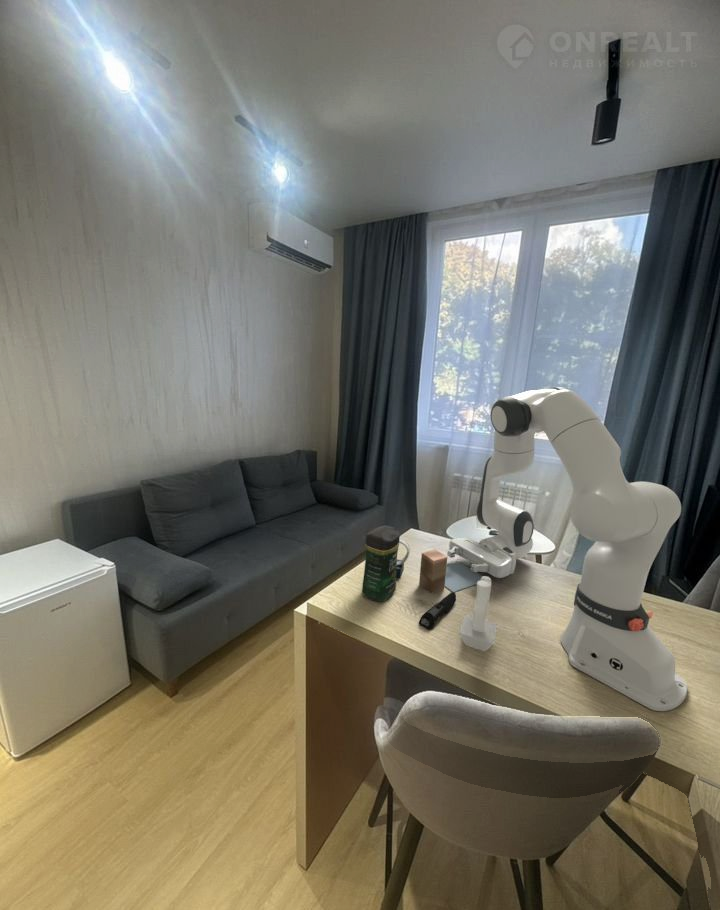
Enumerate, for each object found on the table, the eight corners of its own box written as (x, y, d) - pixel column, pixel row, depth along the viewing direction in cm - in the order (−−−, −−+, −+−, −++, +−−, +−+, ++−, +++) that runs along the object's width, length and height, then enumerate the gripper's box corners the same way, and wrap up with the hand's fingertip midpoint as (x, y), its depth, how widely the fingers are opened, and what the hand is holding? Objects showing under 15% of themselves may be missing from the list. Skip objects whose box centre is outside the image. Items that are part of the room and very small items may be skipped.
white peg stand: (456, 649, 82) (463, 588, 79) (464, 625, 91) (471, 569, 87) (490, 661, 79) (499, 598, 76) (495, 635, 88) (503, 577, 84)
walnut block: (444, 589, 105) (447, 556, 103) (430, 593, 103) (433, 560, 101) (432, 580, 110) (435, 549, 107) (419, 584, 107) (421, 552, 105)
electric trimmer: (459, 604, 99) (460, 594, 99) (430, 632, 88) (431, 620, 87) (447, 599, 102) (448, 588, 101) (417, 624, 90) (418, 613, 90)
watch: (383, 566, 117) (385, 533, 114) (409, 571, 114) (411, 537, 112) (379, 574, 111) (381, 540, 109) (405, 580, 109) (408, 545, 107)
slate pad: (487, 580, 111) (487, 579, 111) (453, 592, 104) (453, 591, 104) (457, 562, 121) (457, 561, 121) (424, 572, 114) (424, 571, 114)
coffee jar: (383, 606, 96) (387, 540, 92) (357, 595, 100) (360, 531, 96) (400, 589, 104) (405, 527, 100) (376, 580, 108) (379, 520, 104)
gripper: (468, 530, 126) (437, 537, 118) (521, 556, 108) (488, 567, 101) (466, 547, 127) (435, 555, 120) (518, 576, 110) (486, 587, 103)
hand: (460, 561), depth 110 cm, fingers open, 8 cm apart
